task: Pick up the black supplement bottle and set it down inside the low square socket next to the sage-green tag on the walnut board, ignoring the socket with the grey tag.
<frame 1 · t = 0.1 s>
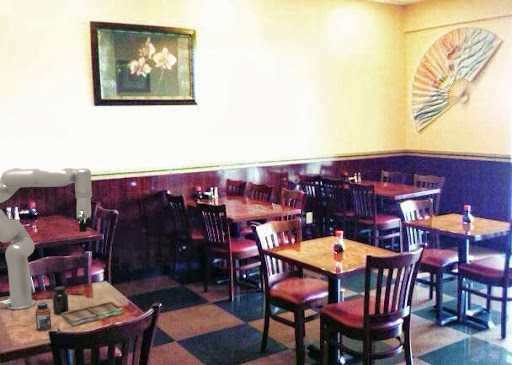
hand: (85, 229, 260), 37 cm above the table, tool pointing down, fingers open, 9 cm apart
supplement bottle: (61, 313, 253), on the table
socket board: (93, 315, 250), on the table
supplement bottle 2: (43, 328, 235), on the table
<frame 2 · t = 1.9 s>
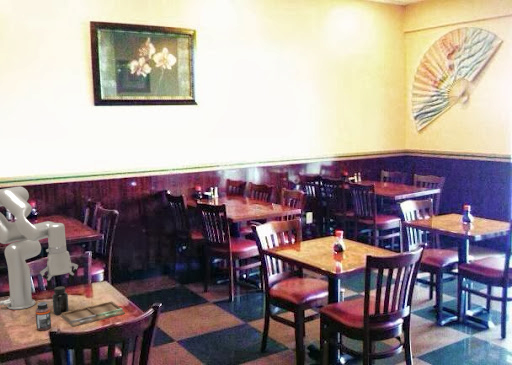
hand: (60, 285, 251), 13 cm above the table, tool pointing down, fingers open, 9 cm apart
nothing on the table moved.
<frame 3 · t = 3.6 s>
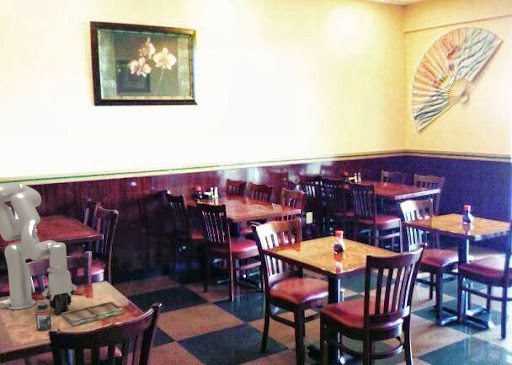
hand: (60, 305, 253), 3 cm above the table, tool pointing down, fingers closed on supplement bottle, 6 cm apart
supplement bottle: (61, 313, 253), on the table, touching gripper
everything else where it was.
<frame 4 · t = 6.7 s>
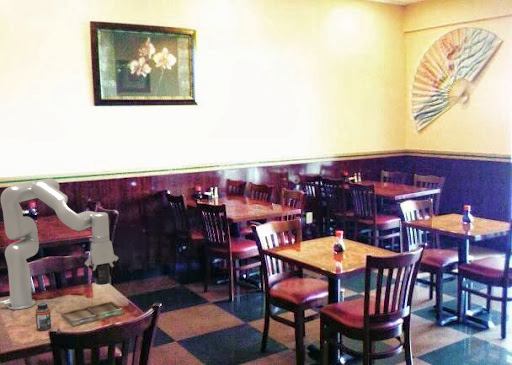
hand: (102, 276, 252), 17 cm above the table, tool pointing down, fingers closed on supplement bottle, 6 cm apart
supplement bottle: (102, 283, 252), point 14 cm above the table, touching gripper
everything else where it was.
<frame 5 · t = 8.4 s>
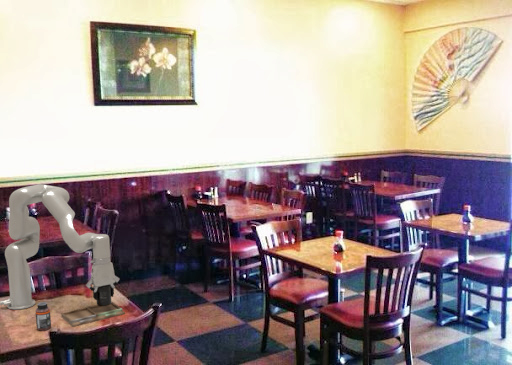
hand: (103, 297, 253), 7 cm above the table, tool pointing down, fingers closed on supplement bottle, 6 cm apart
supplement bottle: (104, 304, 254), point 4 cm above the table, touching gripper
everything else where it was.
when the fingers open (5 cm above the table, at t = 9.7 s): supplement bottle drops 1 cm, resting on socket board.
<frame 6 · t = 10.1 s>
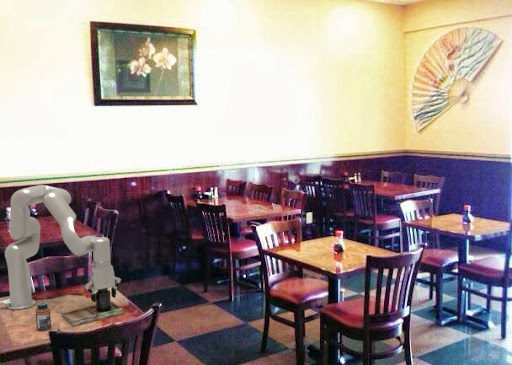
hand: (103, 299, 253), 6 cm above the table, tool pointing down, fingers open, 9 cm apart
supplement bottle: (103, 310, 254), point 1 cm above the table, touching socket board
everything else where it was.
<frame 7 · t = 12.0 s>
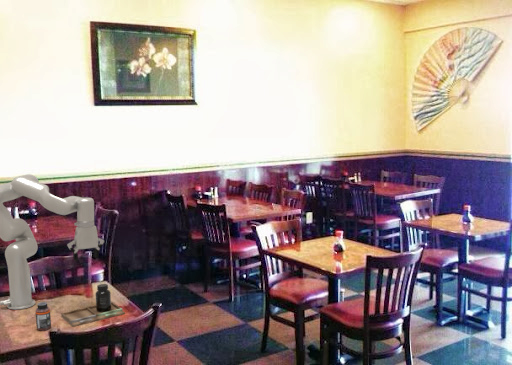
hand: (86, 259, 255), 24 cm above the table, tool pointing down, fingers open, 9 cm apart
nothing on the table moved.
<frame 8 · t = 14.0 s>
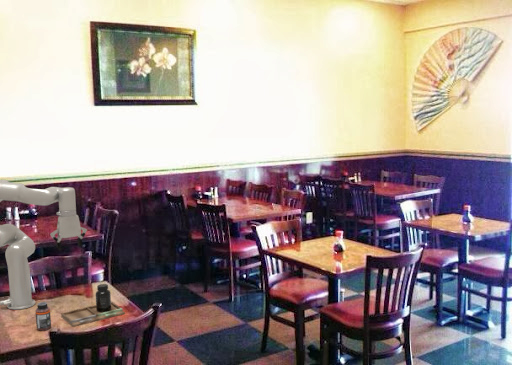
hand: (69, 248, 260), 28 cm above the table, tool pointing down, fingers open, 9 cm apart
nothing on the table moved.
at the end: supplement bottle 0.3 cm from the target spot on the socket board, point 0.6 cm above the socket board's base; supplement bottle tilted 0°; the gripper is holding nothing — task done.
